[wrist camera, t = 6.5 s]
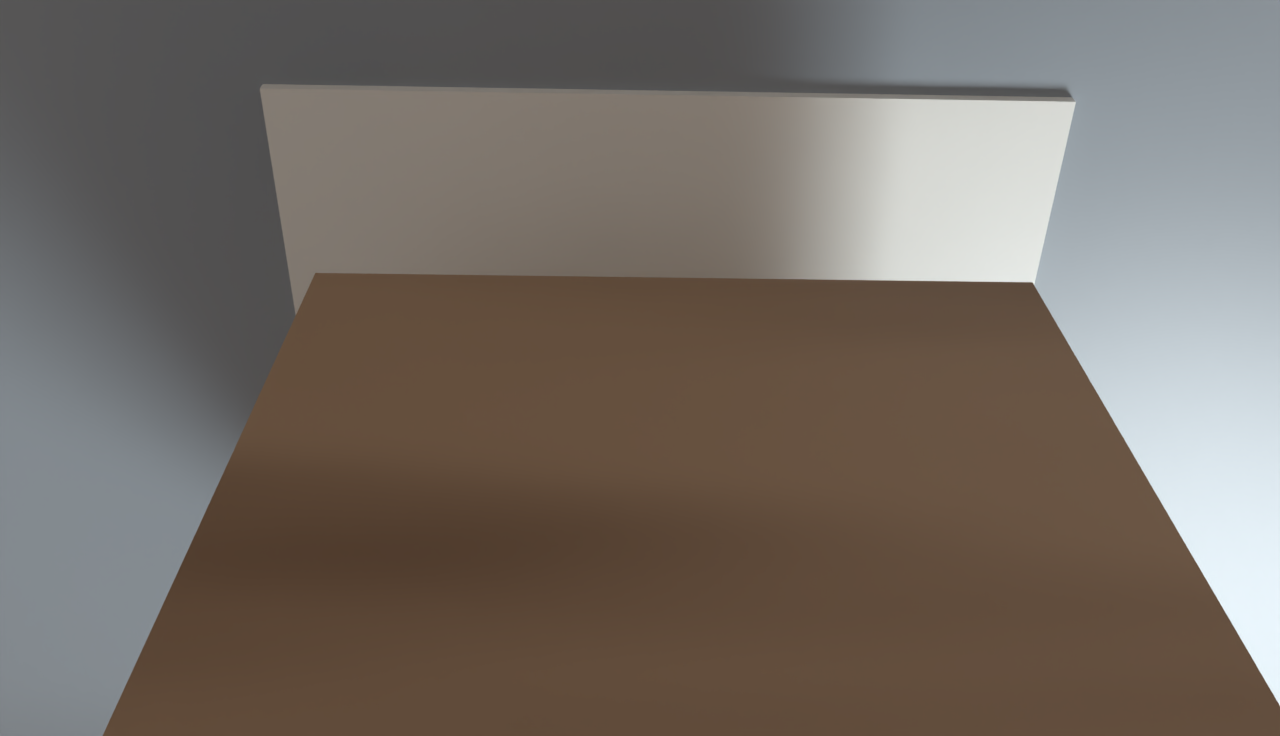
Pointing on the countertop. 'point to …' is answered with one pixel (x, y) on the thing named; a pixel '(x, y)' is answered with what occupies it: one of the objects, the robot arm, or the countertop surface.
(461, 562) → the walnut block
